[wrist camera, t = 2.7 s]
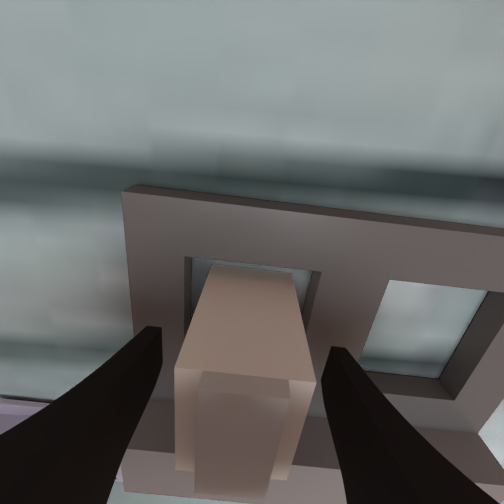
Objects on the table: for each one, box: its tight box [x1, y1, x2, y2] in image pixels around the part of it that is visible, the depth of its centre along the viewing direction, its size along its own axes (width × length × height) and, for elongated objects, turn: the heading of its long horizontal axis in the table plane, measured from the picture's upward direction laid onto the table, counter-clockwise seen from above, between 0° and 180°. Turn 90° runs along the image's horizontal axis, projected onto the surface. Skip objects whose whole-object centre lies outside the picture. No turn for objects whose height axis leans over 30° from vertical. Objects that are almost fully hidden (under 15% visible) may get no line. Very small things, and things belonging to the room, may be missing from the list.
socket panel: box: [121, 185, 504, 504], centre depth 13 cm, size 20×16×4 cm
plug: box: [174, 264, 317, 500], centre depth 11 cm, size 4×5×7 cm
